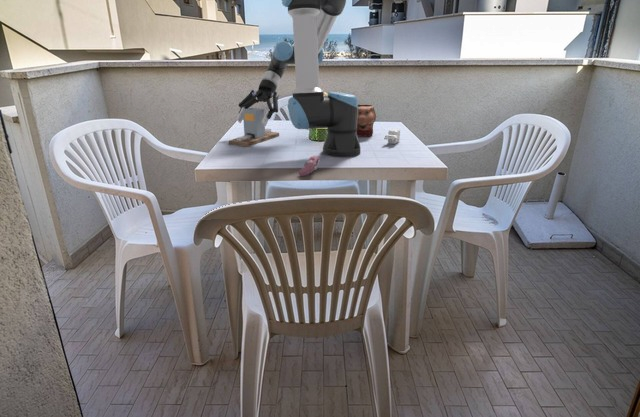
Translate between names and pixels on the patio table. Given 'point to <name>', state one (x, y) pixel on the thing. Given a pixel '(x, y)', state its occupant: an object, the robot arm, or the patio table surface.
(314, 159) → the pink mottled elongated lump
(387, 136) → the power adapter
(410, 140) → the patio table surface
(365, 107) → the decorative planter
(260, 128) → the module
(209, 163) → the patio table surface
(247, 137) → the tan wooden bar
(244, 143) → the board
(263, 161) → the patio table surface
